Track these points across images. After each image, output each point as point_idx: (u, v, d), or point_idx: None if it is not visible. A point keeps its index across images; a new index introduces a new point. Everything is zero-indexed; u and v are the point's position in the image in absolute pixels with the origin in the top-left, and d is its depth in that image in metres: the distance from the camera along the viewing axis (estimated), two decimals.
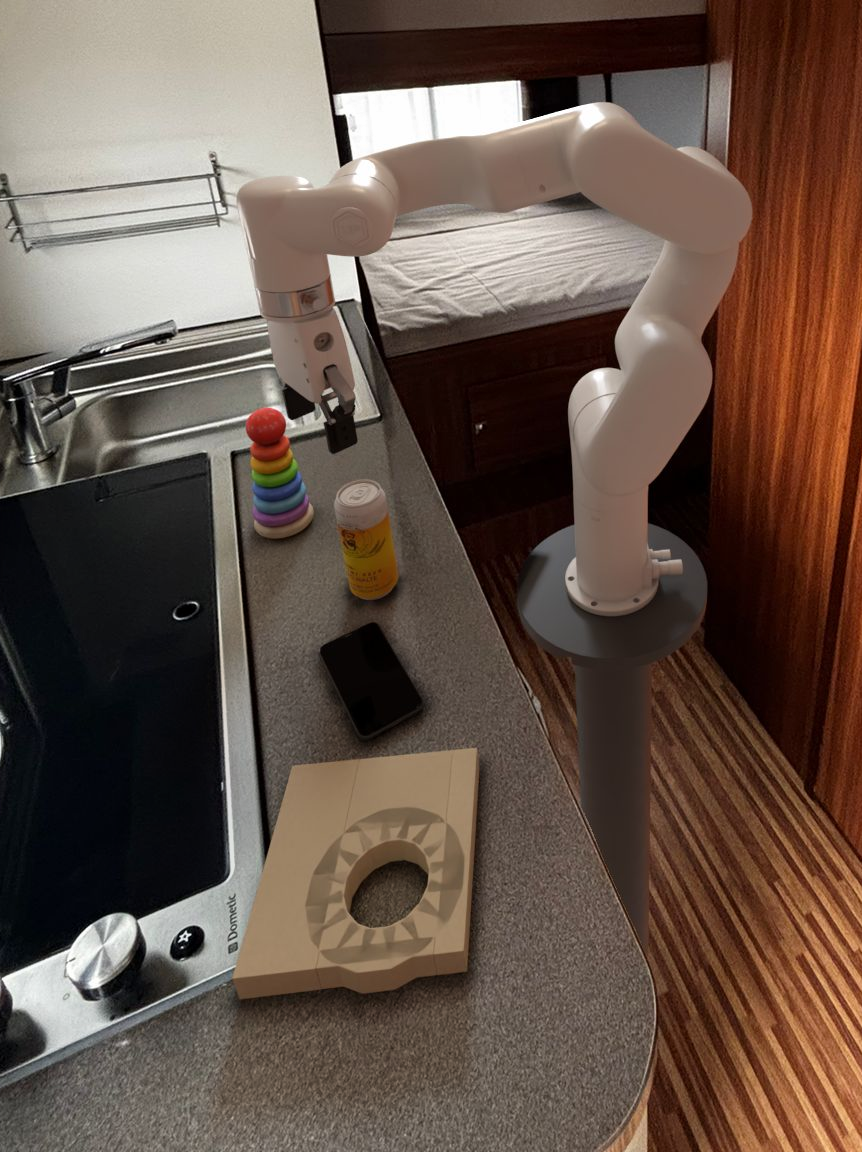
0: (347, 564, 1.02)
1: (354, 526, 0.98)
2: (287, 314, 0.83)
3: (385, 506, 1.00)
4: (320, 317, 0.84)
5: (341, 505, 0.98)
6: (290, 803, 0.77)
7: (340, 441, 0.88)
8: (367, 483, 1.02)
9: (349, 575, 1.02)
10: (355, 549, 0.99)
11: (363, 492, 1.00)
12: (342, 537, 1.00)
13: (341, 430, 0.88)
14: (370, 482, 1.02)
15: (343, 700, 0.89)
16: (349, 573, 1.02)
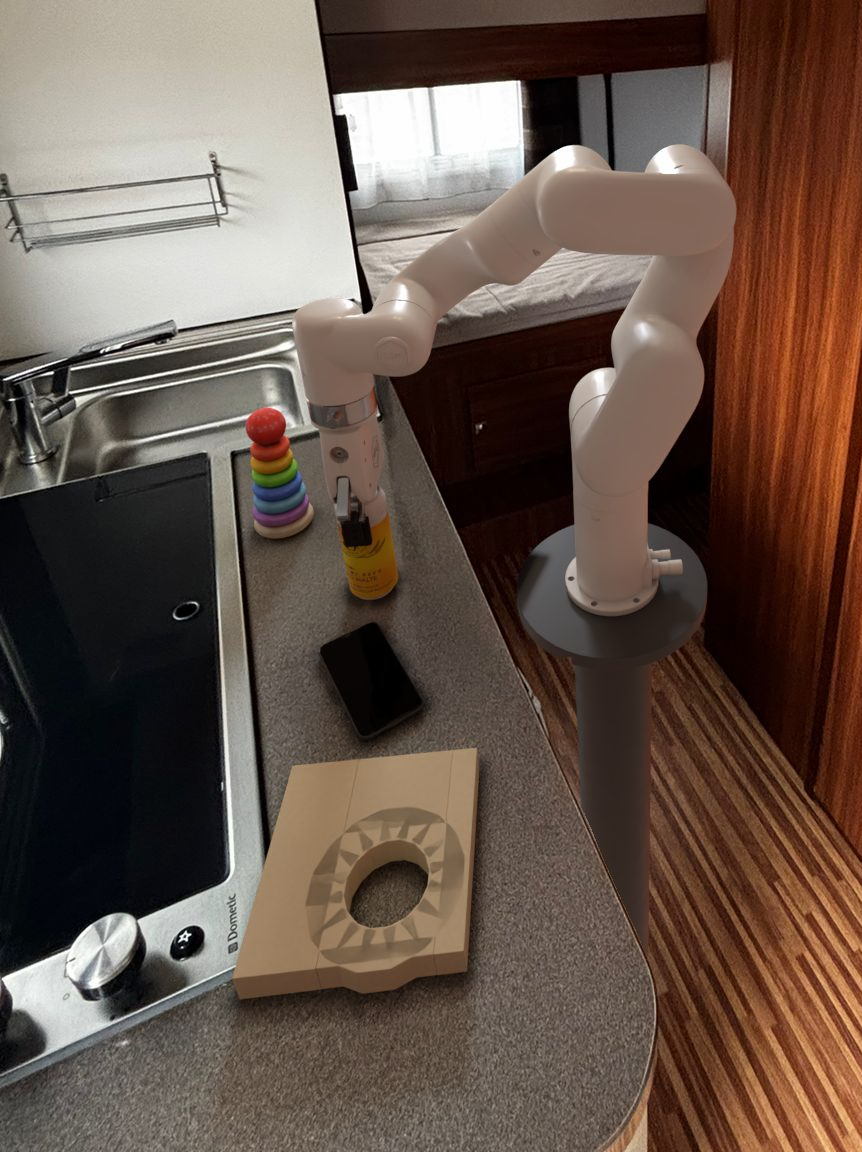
0: (347, 564, 1.02)
1: None
2: (316, 421, 0.92)
3: (385, 506, 1.00)
4: (340, 433, 0.91)
5: None
6: (290, 803, 0.77)
7: (350, 539, 0.97)
8: None
9: (349, 575, 1.02)
10: (355, 549, 0.99)
11: None
12: (342, 537, 1.00)
13: (351, 531, 0.97)
14: None
15: (343, 700, 0.89)
16: (349, 573, 1.02)
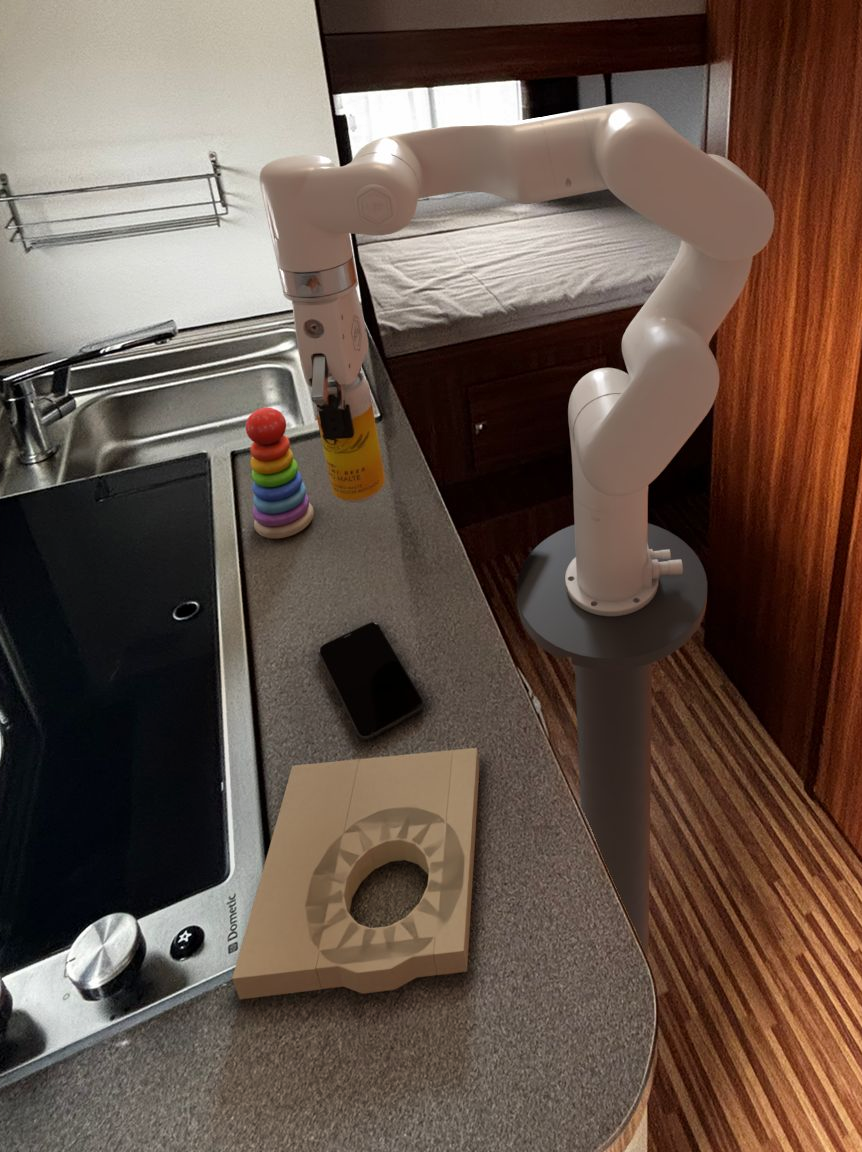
0: (328, 462, 0.93)
1: None
2: (288, 292, 0.83)
3: (368, 397, 0.92)
4: (314, 304, 0.82)
5: None
6: (290, 803, 0.77)
7: (329, 429, 0.88)
8: None
9: (330, 475, 0.94)
10: (335, 443, 0.91)
11: None
12: (321, 430, 0.91)
13: (330, 419, 0.88)
14: None
15: (343, 700, 0.89)
16: (330, 472, 0.93)
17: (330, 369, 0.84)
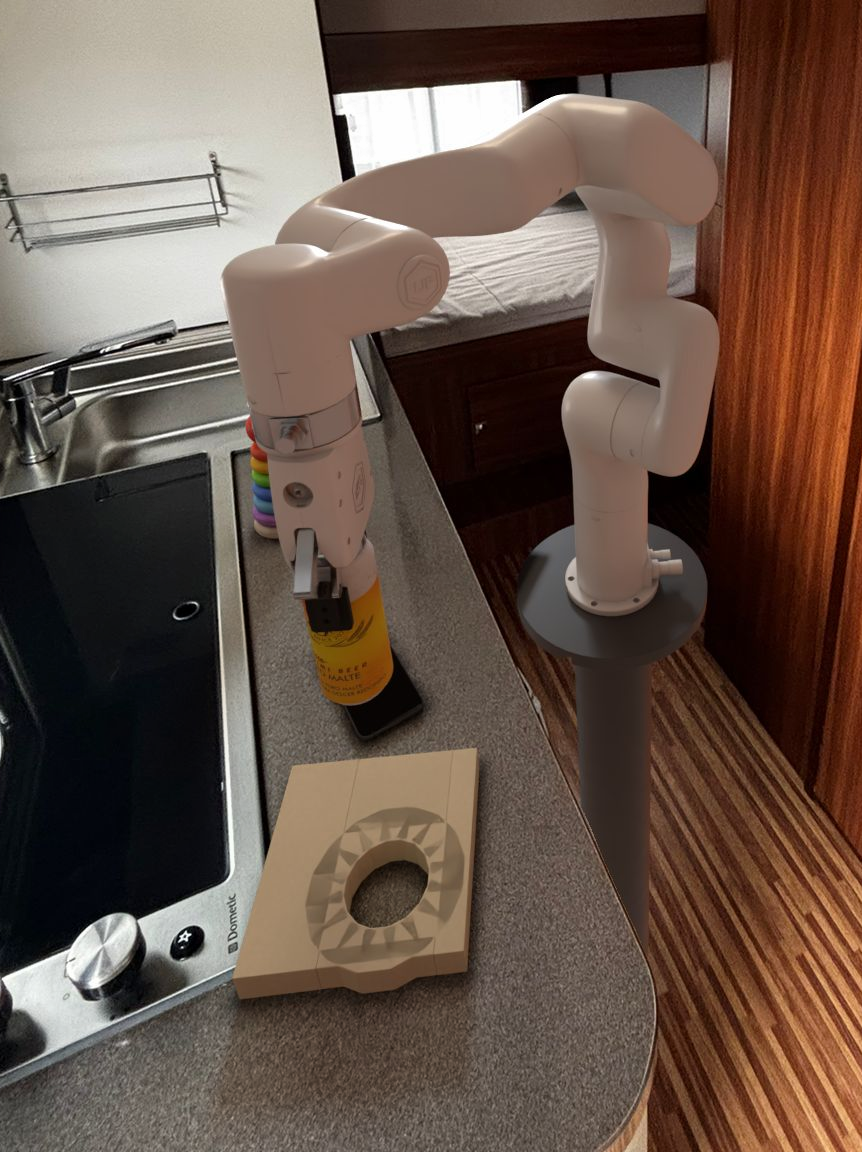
0: (315, 654, 0.67)
1: None
2: (262, 441, 0.57)
3: (373, 568, 0.66)
4: (300, 460, 0.57)
5: None
6: (290, 803, 0.77)
7: (318, 623, 0.63)
8: None
9: (319, 670, 0.68)
10: (326, 634, 0.65)
11: None
12: (307, 615, 0.65)
13: (320, 610, 0.62)
14: None
15: None
16: (319, 667, 0.68)
17: (321, 548, 0.59)
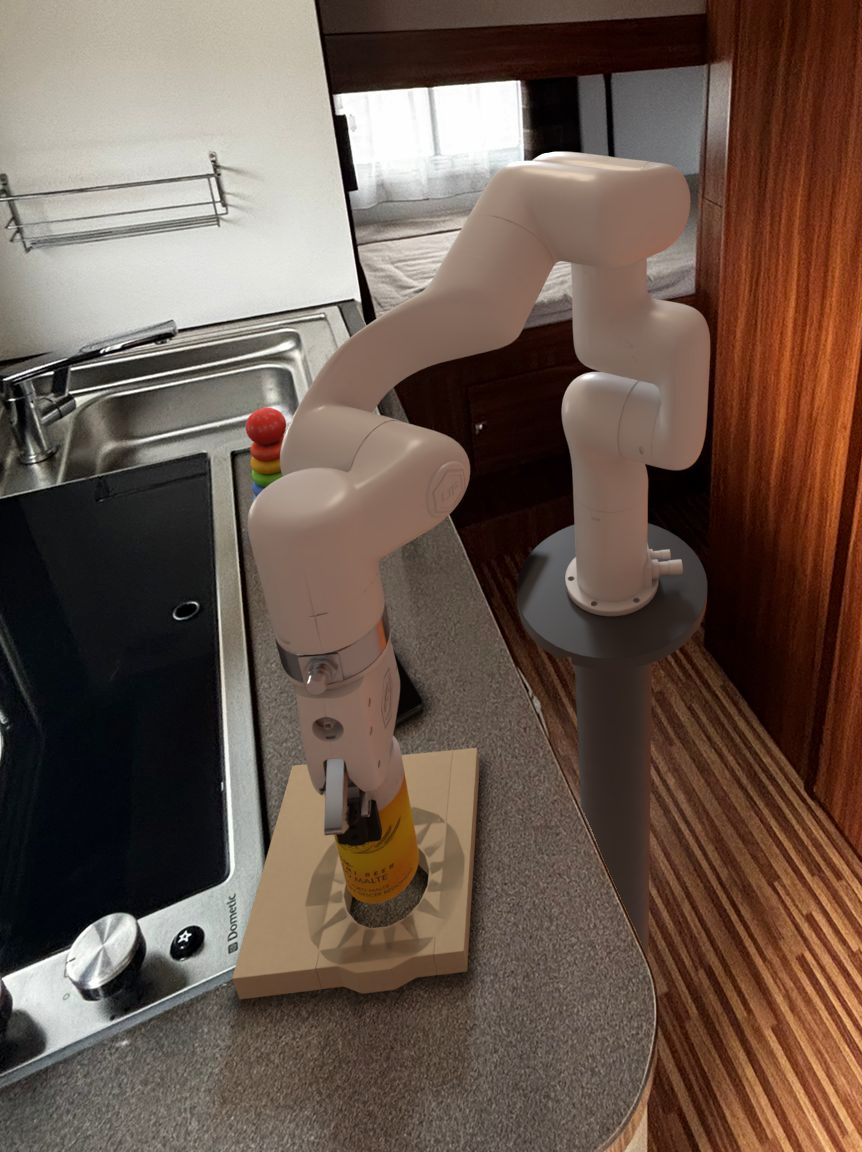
0: (341, 856, 0.65)
1: None
2: (290, 673, 0.55)
3: (400, 771, 0.64)
4: (330, 694, 0.55)
5: None
6: (290, 803, 0.77)
7: (346, 839, 0.61)
8: None
9: (344, 870, 0.66)
10: None
11: None
12: None
13: (349, 828, 0.60)
14: None
15: None
16: (344, 868, 0.66)
17: (351, 776, 0.57)
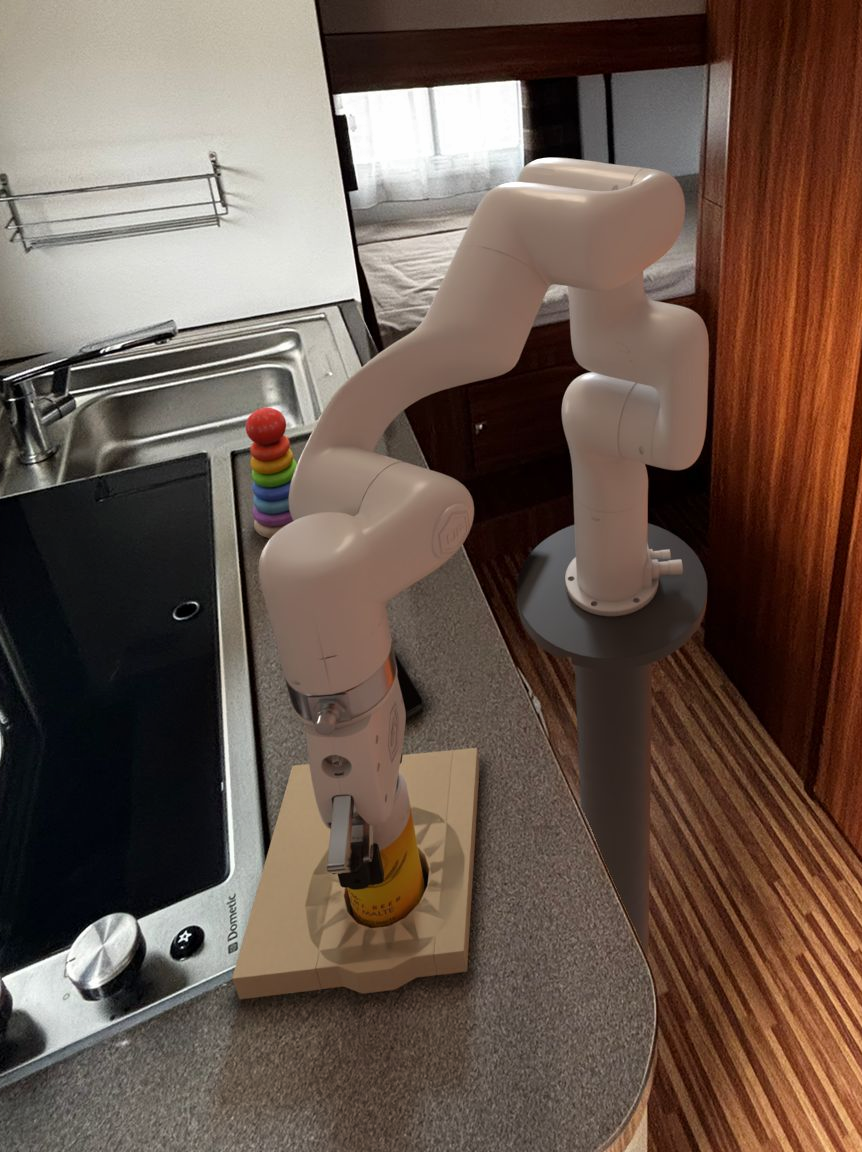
0: (349, 890, 0.67)
1: None
2: (299, 712, 0.57)
3: (407, 807, 0.66)
4: (338, 733, 0.56)
5: None
6: (290, 803, 0.77)
7: (348, 883, 0.61)
8: None
9: (352, 902, 0.68)
10: None
11: None
12: None
13: (351, 872, 0.60)
14: None
15: None
16: (352, 901, 0.68)
17: (359, 811, 0.59)
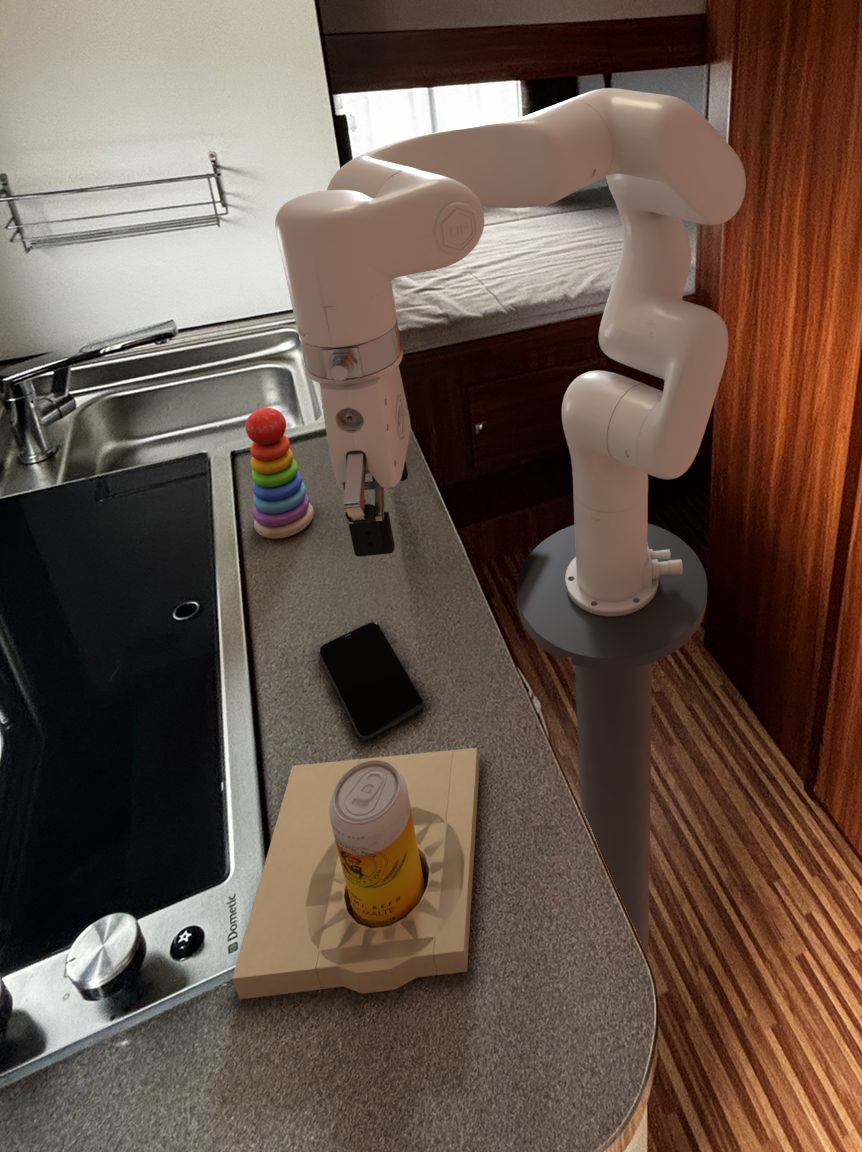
0: (349, 890, 0.67)
1: (361, 850, 0.64)
2: (315, 372, 0.62)
3: (407, 807, 0.66)
4: (351, 387, 0.62)
5: (340, 819, 0.63)
6: (290, 803, 0.77)
7: (362, 546, 0.67)
8: (379, 767, 0.67)
9: (352, 902, 0.68)
10: (361, 877, 0.65)
11: (374, 788, 0.65)
12: (341, 858, 0.65)
13: (364, 533, 0.66)
14: (384, 765, 0.67)
15: (343, 700, 0.89)
16: (352, 901, 0.68)
17: (371, 470, 0.64)
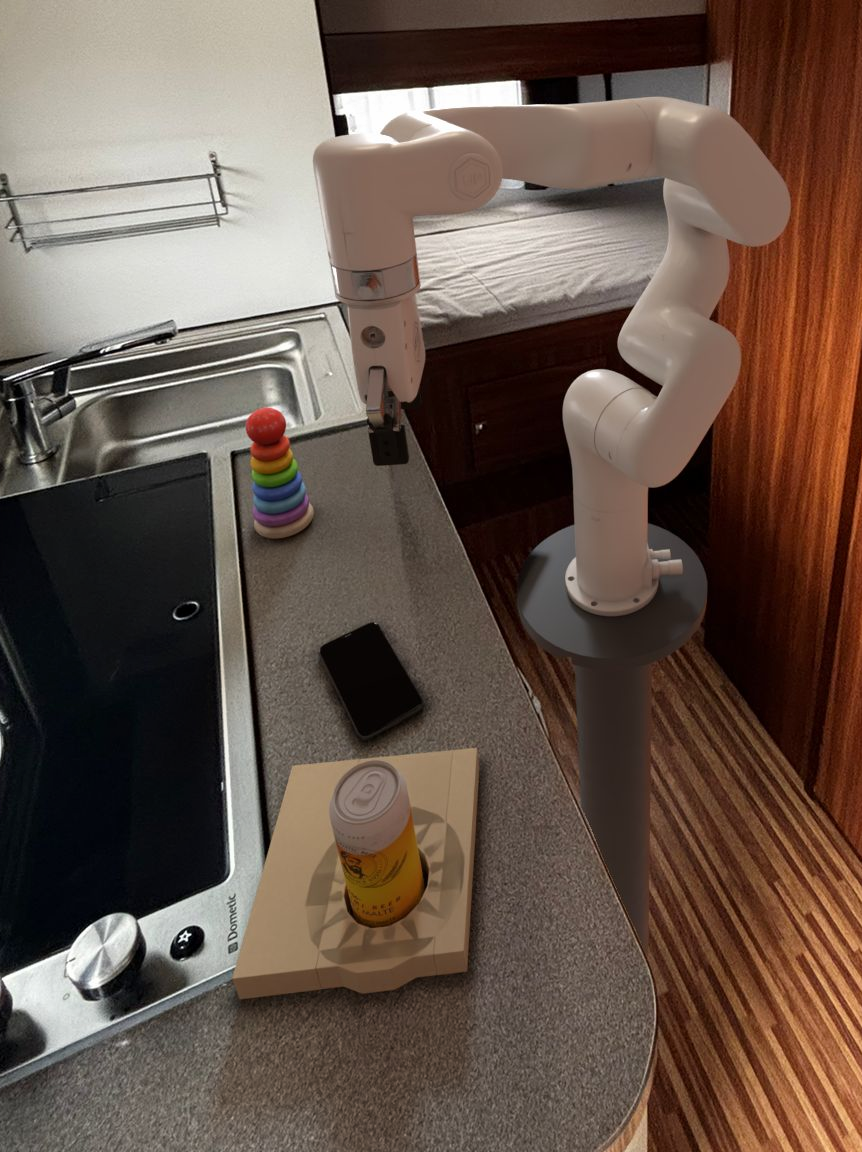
0: (349, 890, 0.67)
1: (361, 850, 0.64)
2: (343, 294, 0.71)
3: (407, 807, 0.66)
4: (374, 308, 0.70)
5: (340, 819, 0.63)
6: (290, 803, 0.77)
7: (380, 455, 0.74)
8: (379, 767, 0.67)
9: (352, 902, 0.68)
10: (361, 877, 0.65)
11: (374, 788, 0.65)
12: (341, 858, 0.65)
13: (382, 443, 0.74)
14: (384, 765, 0.67)
15: (343, 700, 0.89)
16: (352, 901, 0.68)
17: (390, 384, 0.72)
